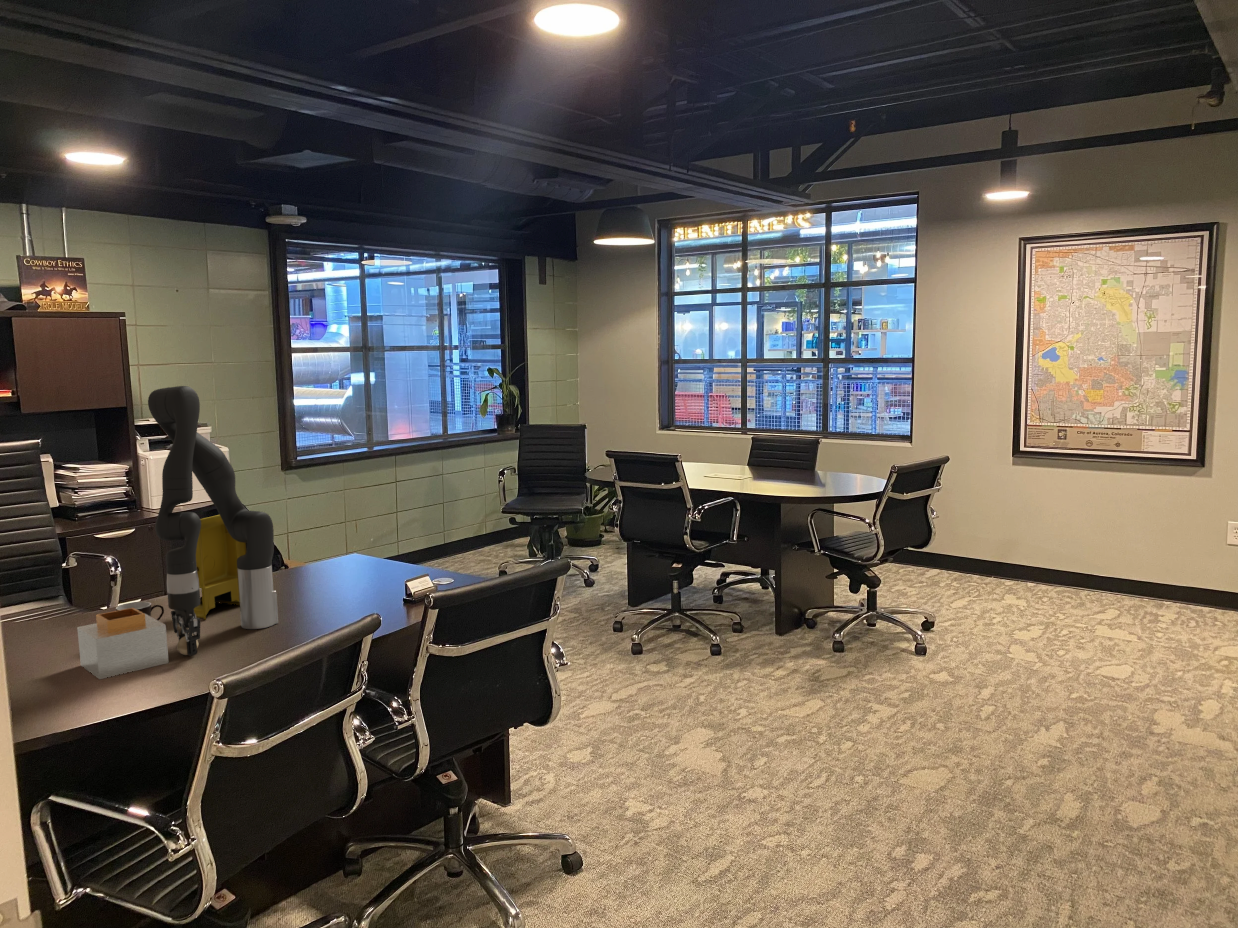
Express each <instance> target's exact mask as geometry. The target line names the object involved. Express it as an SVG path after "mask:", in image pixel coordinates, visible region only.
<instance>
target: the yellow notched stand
mask: <svg viewBox="0 0 1238 928" xmlns="http://www.w3.org/2000/svg"><path fill="white" fill-rule="evenodd" d="M200 520H201V529H200V534H199V537H198V542H197V548H196V565H197V574H198V578H199V589H201V596H200V605H199V606H197V607H195V608H194V612H195V614H196V618H200V619H203V621H205V620H206V621H207V614H208V613H209V611H210V610H212V609H214V608H216V604H222V603H228V604H227V605H232V604H234V606H240V601H239V586H238V572H237V559H238V558H239V557H240V556H242V555H245V554H246V552H247V543H243V542H238V541H236V540H235V539H233V538H232V537H231V535H230V534H229V532H228V531H227V529H226V527H225V525H224V523H223V520H222V518H221V516H220V514H217V515H213V516H209V517H208V516H207V517H203V518H200ZM216 602H218V603H216ZM219 602H220V603H219ZM235 604H236V605H235Z"/></svg>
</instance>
